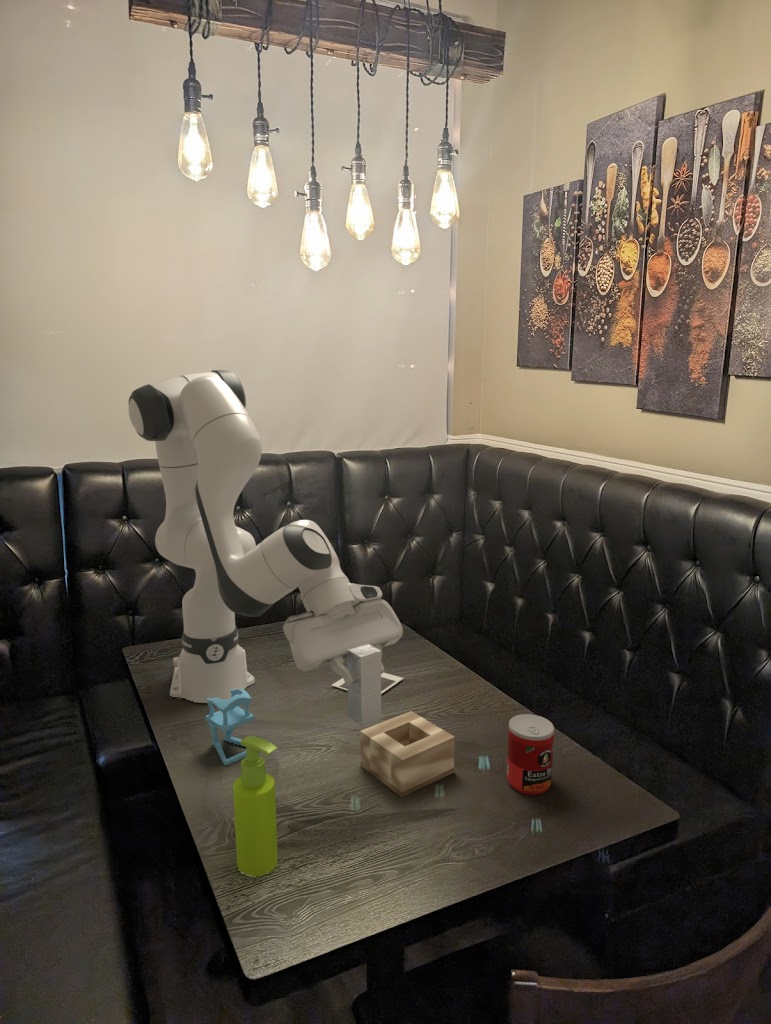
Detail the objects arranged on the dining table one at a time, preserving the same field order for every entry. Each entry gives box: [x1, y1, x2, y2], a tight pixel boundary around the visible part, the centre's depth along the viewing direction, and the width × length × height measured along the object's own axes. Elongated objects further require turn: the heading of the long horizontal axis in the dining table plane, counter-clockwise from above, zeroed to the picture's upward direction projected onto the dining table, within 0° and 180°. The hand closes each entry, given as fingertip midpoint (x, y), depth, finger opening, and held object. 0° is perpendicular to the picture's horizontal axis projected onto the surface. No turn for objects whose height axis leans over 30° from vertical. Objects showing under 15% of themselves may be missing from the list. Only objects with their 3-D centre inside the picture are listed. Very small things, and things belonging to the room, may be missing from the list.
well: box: [359, 710, 456, 798], centre depth 126 cm, size 12×12×7 cm
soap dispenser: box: [232, 734, 279, 876], centre depth 101 cm, size 6×7×20 cm
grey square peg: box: [346, 644, 382, 726], centre depth 116 cm, size 4×4×12 cm
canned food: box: [506, 713, 555, 796], centre depth 121 cm, size 8×8×11 cm
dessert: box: [331, 671, 404, 695], centre depth 160 cm, size 12×12×5 cm
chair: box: [205, 689, 255, 766], centre depth 132 cm, size 8×8×12 cm
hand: (366, 678), depth 115 cm, fingers closed on grey square peg, 4 cm apart
